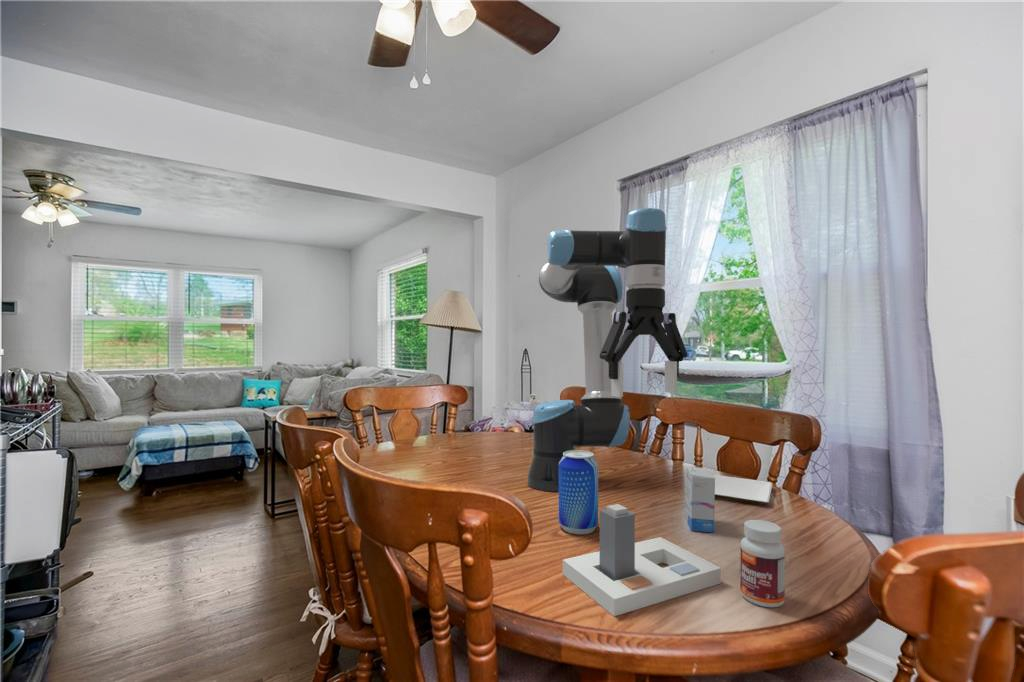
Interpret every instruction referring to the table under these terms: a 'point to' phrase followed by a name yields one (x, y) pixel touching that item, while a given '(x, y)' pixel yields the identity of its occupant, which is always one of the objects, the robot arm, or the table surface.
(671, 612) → the table surface
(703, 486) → the ink box
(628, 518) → the plug
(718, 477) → the plate
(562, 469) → the beer can
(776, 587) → the pill bottle
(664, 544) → the socket board
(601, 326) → the robot arm
